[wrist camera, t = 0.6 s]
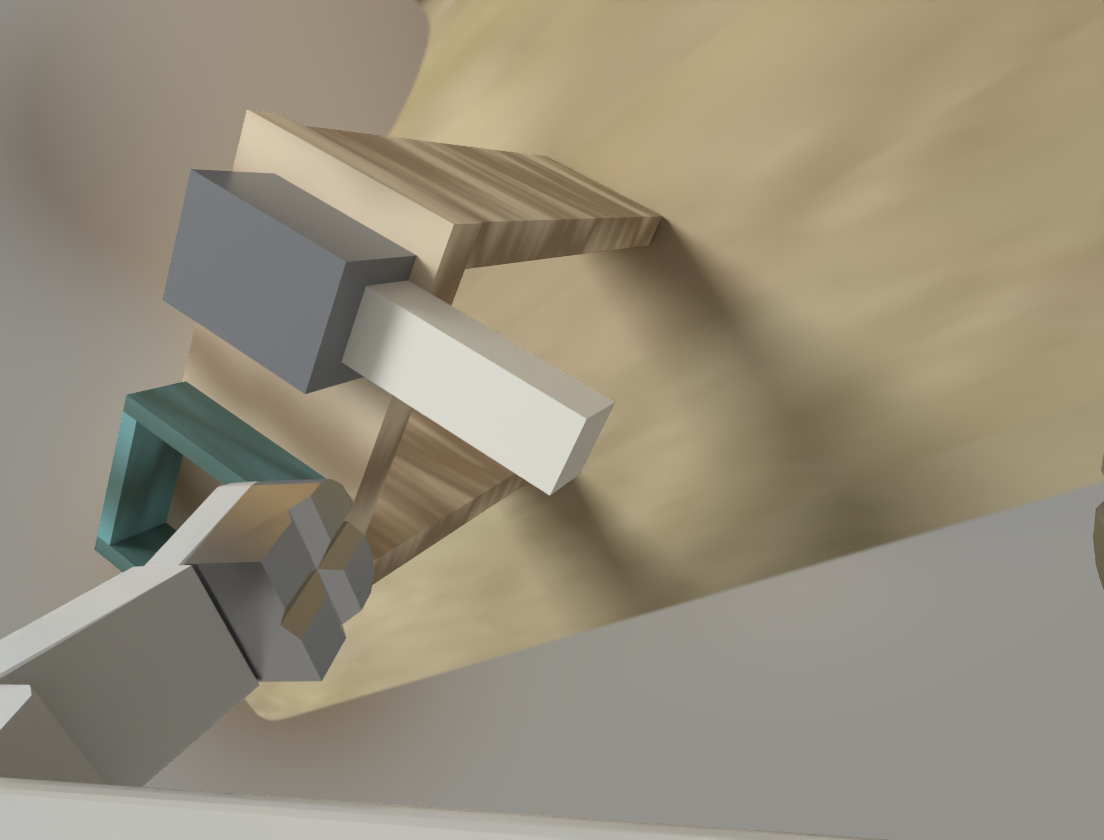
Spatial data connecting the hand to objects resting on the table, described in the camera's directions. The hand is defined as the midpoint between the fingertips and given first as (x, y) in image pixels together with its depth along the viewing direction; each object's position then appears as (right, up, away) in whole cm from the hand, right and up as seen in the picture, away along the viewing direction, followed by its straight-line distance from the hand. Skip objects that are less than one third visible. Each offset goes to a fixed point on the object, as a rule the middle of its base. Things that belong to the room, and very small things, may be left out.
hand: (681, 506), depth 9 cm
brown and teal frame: (-2, +8, +48) cm, 49 cm away
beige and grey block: (-6, +4, +21) cm, 23 cm away
